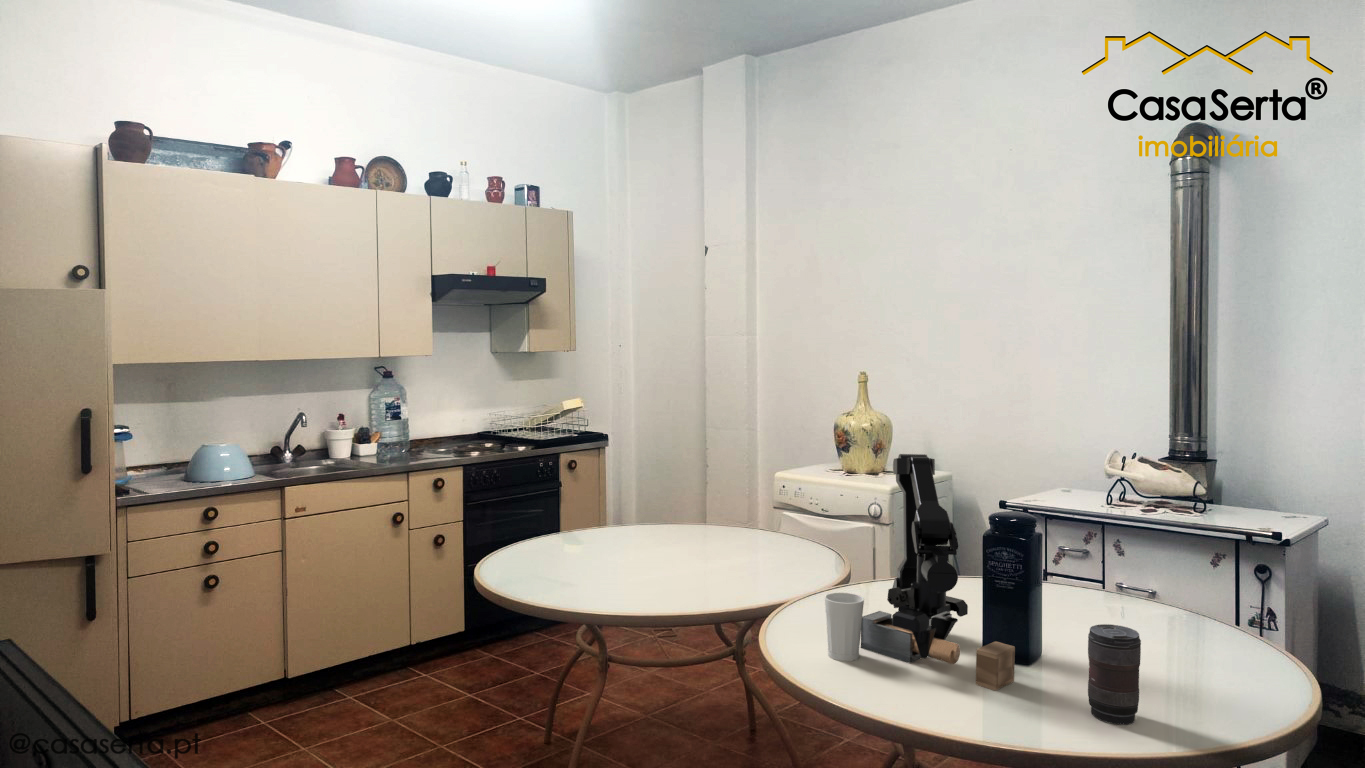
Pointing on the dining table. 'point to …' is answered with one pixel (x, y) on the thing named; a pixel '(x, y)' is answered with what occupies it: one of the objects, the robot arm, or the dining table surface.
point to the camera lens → (1113, 673)
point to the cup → (843, 625)
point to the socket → (995, 665)
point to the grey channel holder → (886, 638)
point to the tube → (935, 647)
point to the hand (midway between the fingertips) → (929, 655)
